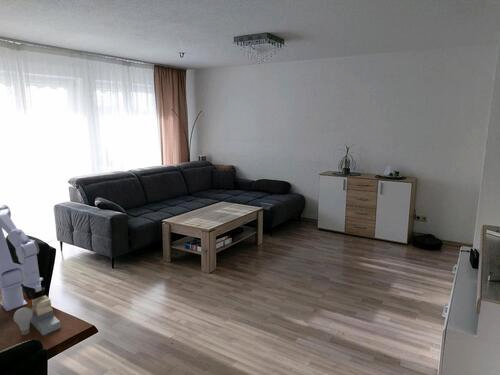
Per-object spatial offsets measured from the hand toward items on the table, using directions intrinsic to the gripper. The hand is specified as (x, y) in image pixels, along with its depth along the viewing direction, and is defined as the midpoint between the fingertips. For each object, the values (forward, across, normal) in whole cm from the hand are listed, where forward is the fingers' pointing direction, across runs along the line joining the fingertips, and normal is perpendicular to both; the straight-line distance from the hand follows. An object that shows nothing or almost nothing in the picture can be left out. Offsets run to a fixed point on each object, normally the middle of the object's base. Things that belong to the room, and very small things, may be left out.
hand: (34, 301), depth 149 cm
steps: (+7, -9, 0) cm, 11 cm away
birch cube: (+1, -8, 0) cm, 8 cm away
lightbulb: (+7, -10, +7) cm, 14 cm away
